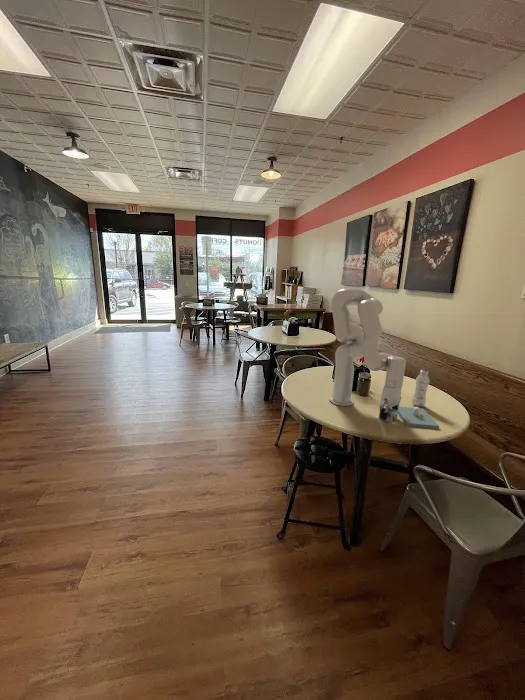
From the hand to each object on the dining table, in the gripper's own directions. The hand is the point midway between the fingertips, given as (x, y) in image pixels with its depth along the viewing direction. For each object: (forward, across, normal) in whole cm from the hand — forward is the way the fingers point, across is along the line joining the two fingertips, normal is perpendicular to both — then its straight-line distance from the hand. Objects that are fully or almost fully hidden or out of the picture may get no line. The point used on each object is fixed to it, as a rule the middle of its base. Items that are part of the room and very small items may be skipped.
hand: (388, 416), depth 139 cm
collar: (+2, 0, 0) cm, 2 cm away
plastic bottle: (+2, -29, 0) cm, 29 cm away
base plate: (+2, -13, +7) cm, 15 cm away
